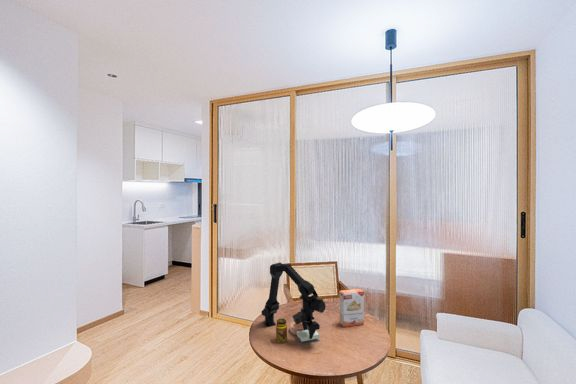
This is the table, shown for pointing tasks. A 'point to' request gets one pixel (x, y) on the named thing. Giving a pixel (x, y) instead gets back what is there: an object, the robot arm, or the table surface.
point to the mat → (307, 341)
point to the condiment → (281, 331)
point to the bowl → (296, 328)
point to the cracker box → (351, 307)
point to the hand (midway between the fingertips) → (307, 335)
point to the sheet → (306, 335)
